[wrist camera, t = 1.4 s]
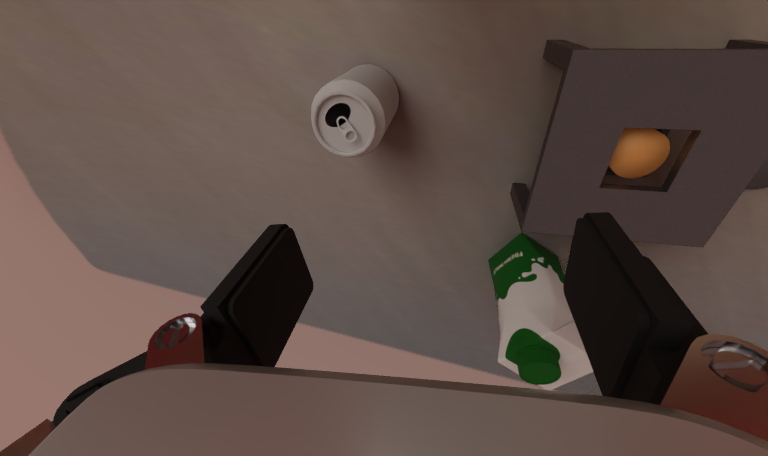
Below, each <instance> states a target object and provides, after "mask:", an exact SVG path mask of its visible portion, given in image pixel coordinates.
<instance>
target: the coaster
mask: <svg viewBox="0 0 768 456" xmlns="http://www.w3.org/2000/svg"><path fill="white" fill-rule="evenodd" d="M765 187H768V157H767V158H766V160H765V161H764V163H763V164H762V165H761V167H760V168H759V170H758V171H757V172H756V174H755V175H754V177H753V178H752V179H751V181H750V182H749V184H748V185H747V186H746V188H747V189H758V188H765Z"/></svg>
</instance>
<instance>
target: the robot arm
mask: <svg viewBox="0 0 768 456" xmlns="http://www.w3.org/2000/svg"><path fill="white" fill-rule="evenodd" d="M563 290H564V295H565V298H566V301H567V303H568V306H569V309H570V311H571V314H572V317H573V319H574V322H575V324H576V327H577V330H578V332H579V335H580V337H581V340H582V343H583V345H584V348H585V351H586V353H587V356H588V358H589V361H590V364H591V366H592V369H593V372H594V374H595V377H596V379H597V382H598V385H599V387H600V390H601V393H602V395H603V396H598V395H589V394H579V393H569V392H560V391H550V390H540V389H530V388H519V387H507V386H496V385H485V384H484V385H483V384H473V383H461V382H450V381H439V380H427V379H415V378H403V377H390V376H379V375H367V374H354V373H342V372H330V371H317V370H304V369H291V368H277V367H275V365H276V363H277V361H278V359H279V357H280V355H281V353H282V351H283V349H284V347H285V345H286V343H287V341H288V339H289V337H290V335H291V333H292V331H293V328H294V327H295V325H296V323H297V321H298V319H299V317H300V315H301V313H302V311H303V309H304V307H305V305H306V303H307V301H308V299H309V297H310V295H311V293H312V291H313V281H312V278H311V275H310V273H309V270H308V267H307V265H306V262H305V259H304V257H303V254H302V252H301V249H300V246H299V244H298V241H297V238H296V236H295V233H294V231H293V229H292V228H289V226H288V225H286V224H276V225H270V226H268V228H267V229H266V230H265V231H264V232H263V233H262V235H261V236H260V237H259V238H258V239H257V241H256V242H255V243H254V244H253V245H252V246H251V248H250V249H249V250H248V251H247V252H246V254H245V255H244V256H243V257H242V258H241V259H240V261H239V262H238V263H237V264H236V265H235V266H234V268H233V269H232V270H231V271H230V272H229V274H228V275H227V276H226V277H225V278H224V279H223V281H222V282H221V283H220V284H219V285H218V287H217V288H216V289H215V290H214V291H213V292H212V294H211V295H210V296H209V297H208V298H207V300H206V301H205V302H204V303H203V304H202V306H201V309H202V310H203V311H204V313H203V315H202V316H201V317H200V316H199V315H197V314H194V313H188V314H183V315H180V316H177V317H175V318H173V319H171V320H169V321H167V322H166V323H165V324H163V325H162V326H161V327H160V328H159V329H158V330H157V331H156V332H155V333H154V334H153V335H152V337H151V338H150V341H149V344H148V349H147V351H146V352H144V353H143V354H140V355H139V356H137V357H135V358H133V359H131V360H129V361H127V362H125V363H123V364H121V365H119V366H117V367H115V368H113V369H111V370H110V371H108V372H106V373H104V374H102V375H100V376H98V377H96V378H94V379H92V380H90V381H88V382H87V383H85V384H83V385H82V386H80V387H78V388H77V389H75V390H74V391H73V392H72V393H71V394H70V395H69V396H68V397H67V398H66V399H65V400H64V401H63V403H62V404H61V405H60V407H59V408H58V409H57V411H56V413H55V416H54V420H53V421H52V422H51V421H50V420H48V419H46V420H45V421H43V422H42V423H41V424H39V425H38V426H36V427H35V428H33V429H32V430H31V431H29V432H28V433H26V434H25V435H24V436H22V437H21V438H19V439H18V440H16V441H15V442H13V443H12V444H11V445H9V446H8V447H6V448H5V449H3V450H2V451H1V452H0V456H768V351H766V350H765V349H763V348H761V347H759V346H757V345H754V344H752V343H750V342H748V341H745V340H742V339H739V338H736V337H732V336H727V335H721V334H708V333H707V332H706V331H705V329H704V328H703V327H702V326H701V324H700V323H699V322H698V320H697V319H696V318H695V317H694V315H693V314H692V313H691V311H690V310H689V309H688V308H687V306H686V305H685V304H684V302H683V301H682V300H681V298H680V297H679V296H678V295H677V293H676V292H675V291H674V289H673V288H672V287H671V286H670V284H669V283H668V282H667V280H666V279H665V278H664V277H663V275H662V274H661V273H660V271H659V270H658V269H657V268H656V266H655V265H654V264H653V262H652V261H651V260H650V259H649V258H647V257H644V256H642V254H641V253H640V252H639V250H638V249H637V248H636V246H635V245H634V244H633V242H632V241H631V240H630V238H629V237H628V236H627V235H626V233H625V232H624V231H623V229H622V228H621V227H620V225H619V224H618V223H617V221H616V220H615V219H614V217H613V216H612V215H611V214H610V213H609V212H598V213H586V214H585V215H584V216H583V218H578V219H577V221H576V225H575V230H574V235H573V240H572V245H571V250H570V255H569V260H568V264H567V269H566V274H565V279H564V285H563Z"/></svg>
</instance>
